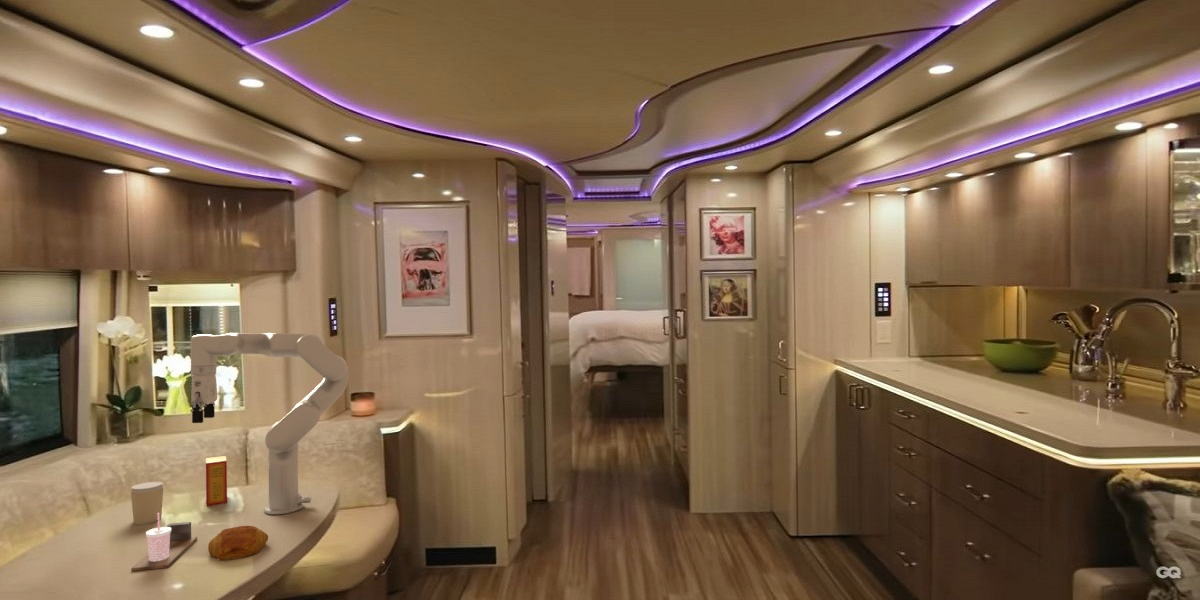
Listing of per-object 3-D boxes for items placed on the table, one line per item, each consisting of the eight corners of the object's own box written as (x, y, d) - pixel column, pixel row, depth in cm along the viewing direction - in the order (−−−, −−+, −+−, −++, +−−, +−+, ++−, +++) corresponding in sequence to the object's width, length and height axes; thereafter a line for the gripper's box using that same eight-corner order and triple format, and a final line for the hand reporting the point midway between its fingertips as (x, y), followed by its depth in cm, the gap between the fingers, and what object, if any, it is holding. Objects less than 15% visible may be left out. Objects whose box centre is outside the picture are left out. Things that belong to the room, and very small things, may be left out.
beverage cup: (140, 565, 184) (139, 516, 183) (158, 556, 190) (157, 509, 189) (159, 566, 183) (159, 517, 182) (177, 557, 189) (176, 510, 188)
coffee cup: (170, 515, 225) (170, 481, 225) (149, 525, 216) (148, 489, 216) (145, 515, 226) (145, 481, 226) (123, 524, 217) (123, 488, 217)
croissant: (214, 554, 197) (210, 528, 197) (271, 539, 202) (266, 514, 202) (204, 571, 183) (199, 544, 183) (264, 555, 189) (260, 528, 189)
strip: (197, 539, 203) (197, 520, 203) (167, 567, 181) (167, 547, 181) (164, 542, 201) (164, 523, 201) (131, 571, 179) (131, 550, 179)
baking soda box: (206, 499, 244) (205, 457, 244) (226, 496, 247) (225, 454, 247) (206, 506, 236) (205, 462, 236) (227, 502, 239) (226, 459, 239)
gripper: (205, 373, 215) (205, 424, 215) (225, 367, 232) (224, 415, 232) (180, 373, 213) (180, 425, 213) (201, 368, 230) (201, 416, 230)
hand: (203, 420), depth 222 cm, fingers open, 9 cm apart
